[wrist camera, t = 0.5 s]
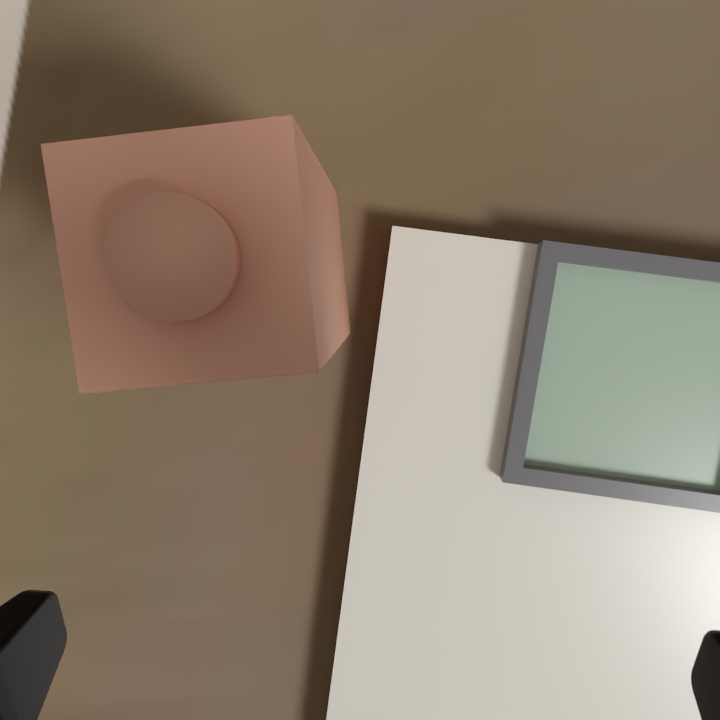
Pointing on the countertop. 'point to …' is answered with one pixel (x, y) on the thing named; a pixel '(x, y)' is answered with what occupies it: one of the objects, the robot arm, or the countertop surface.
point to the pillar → (197, 254)
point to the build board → (534, 486)
